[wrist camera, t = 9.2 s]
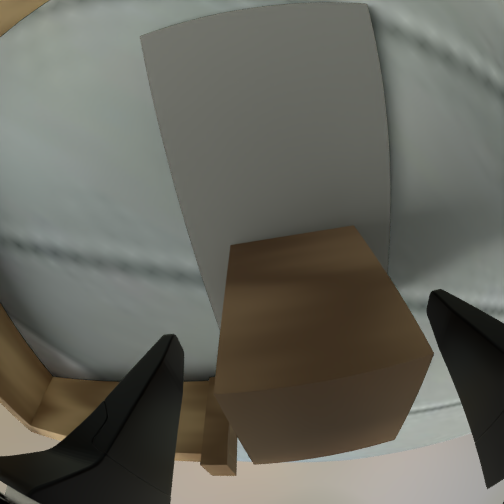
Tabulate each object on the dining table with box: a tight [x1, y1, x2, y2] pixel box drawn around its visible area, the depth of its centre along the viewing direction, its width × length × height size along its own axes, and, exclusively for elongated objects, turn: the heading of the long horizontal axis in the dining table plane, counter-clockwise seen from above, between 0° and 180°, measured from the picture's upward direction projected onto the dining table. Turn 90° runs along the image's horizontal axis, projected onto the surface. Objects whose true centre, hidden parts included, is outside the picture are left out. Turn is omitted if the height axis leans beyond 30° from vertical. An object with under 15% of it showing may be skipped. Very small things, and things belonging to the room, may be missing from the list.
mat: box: [140, 3, 391, 329], centre depth 11 cm, size 7×20×1 cm, turn 10°
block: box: [214, 225, 434, 464], centre depth 9 cm, size 4×4×6 cm
